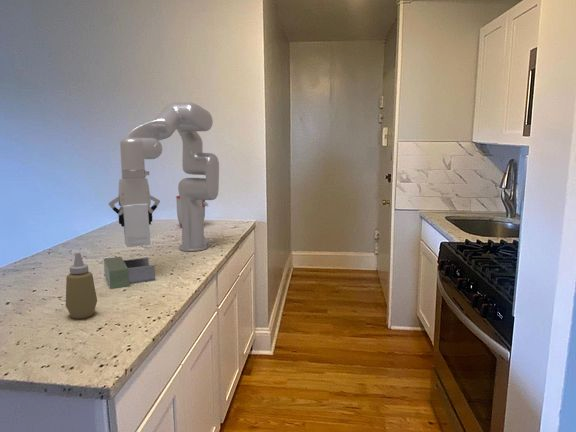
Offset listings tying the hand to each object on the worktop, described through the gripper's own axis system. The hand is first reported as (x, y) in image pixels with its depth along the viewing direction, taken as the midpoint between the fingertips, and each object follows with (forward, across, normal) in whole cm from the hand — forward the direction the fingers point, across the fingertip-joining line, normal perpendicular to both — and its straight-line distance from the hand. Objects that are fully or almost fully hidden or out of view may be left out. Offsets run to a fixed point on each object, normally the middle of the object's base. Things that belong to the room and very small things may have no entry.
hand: (136, 224), depth 156 cm
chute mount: (+19, +3, 0) cm, 19 cm away
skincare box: (+7, 0, 0) cm, 7 cm away
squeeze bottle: (+19, +20, +28) cm, 39 cm away
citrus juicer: (+19, -42, -78) cm, 91 cm away
